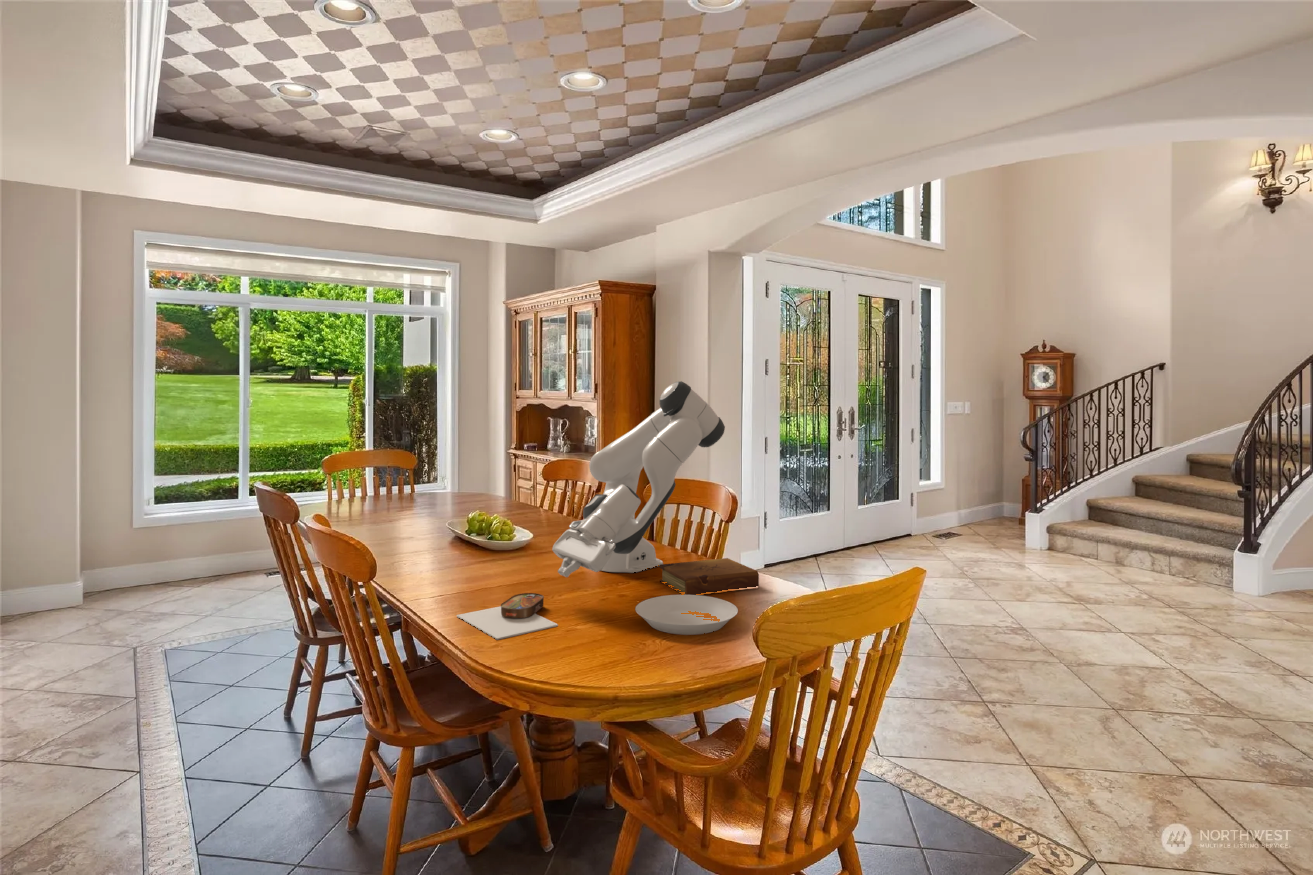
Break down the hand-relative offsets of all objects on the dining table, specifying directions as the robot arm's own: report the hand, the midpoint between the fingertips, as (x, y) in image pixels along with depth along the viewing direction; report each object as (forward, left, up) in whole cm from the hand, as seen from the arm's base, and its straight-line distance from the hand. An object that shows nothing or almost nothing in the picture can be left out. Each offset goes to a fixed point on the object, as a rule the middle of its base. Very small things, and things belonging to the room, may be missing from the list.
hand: (561, 574), depth 186 cm
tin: (+7, 0, -8) cm, 10 cm away
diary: (-46, +6, -10) cm, 47 cm away
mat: (+16, 0, -9) cm, 18 cm away
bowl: (-18, +28, -10) cm, 35 cm away
